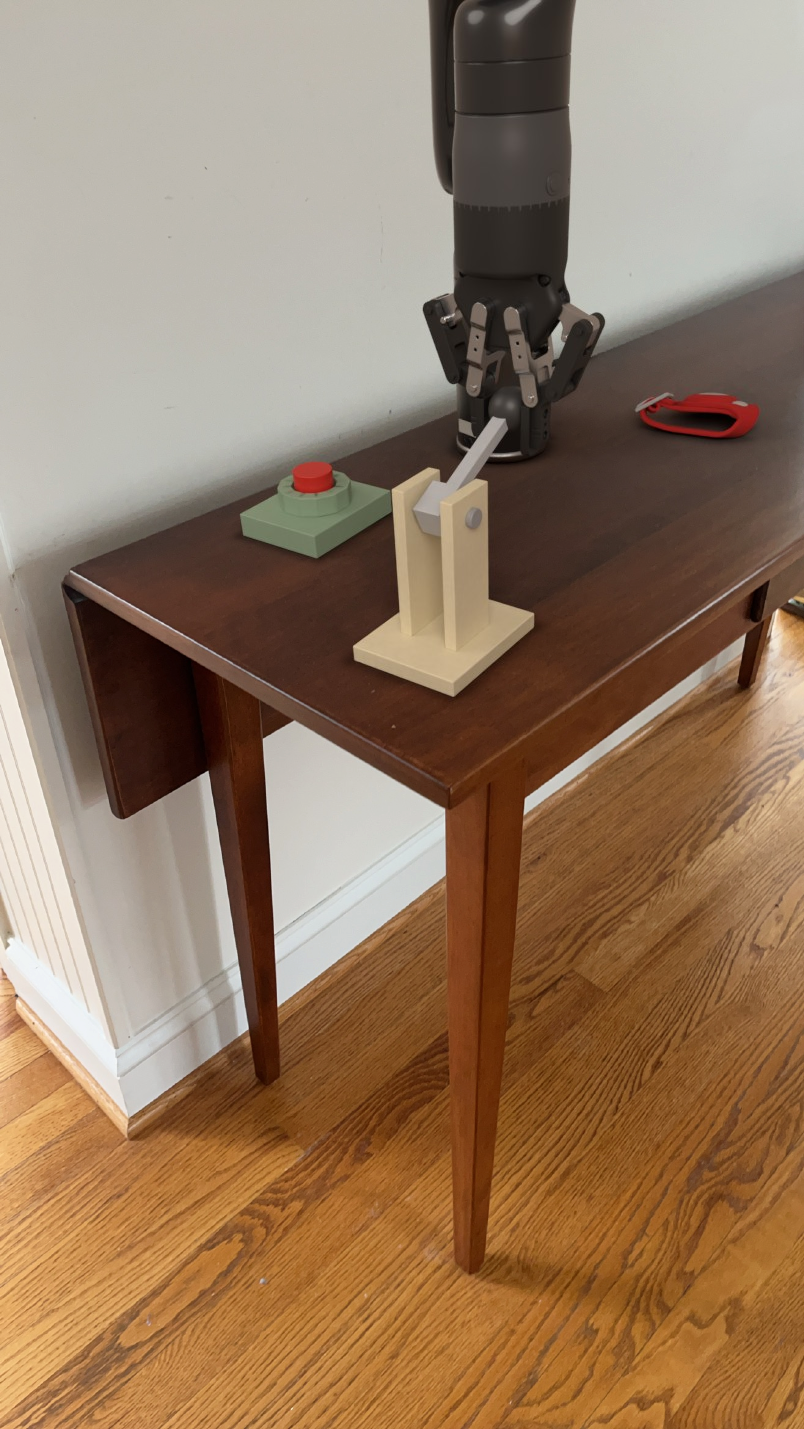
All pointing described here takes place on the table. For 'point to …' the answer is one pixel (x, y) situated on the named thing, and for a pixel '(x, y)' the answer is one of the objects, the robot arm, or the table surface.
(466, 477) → the press lever
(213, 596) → the table surface
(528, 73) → the robot arm
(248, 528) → the button block
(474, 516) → the lever bracket
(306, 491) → the stop button
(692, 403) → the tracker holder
